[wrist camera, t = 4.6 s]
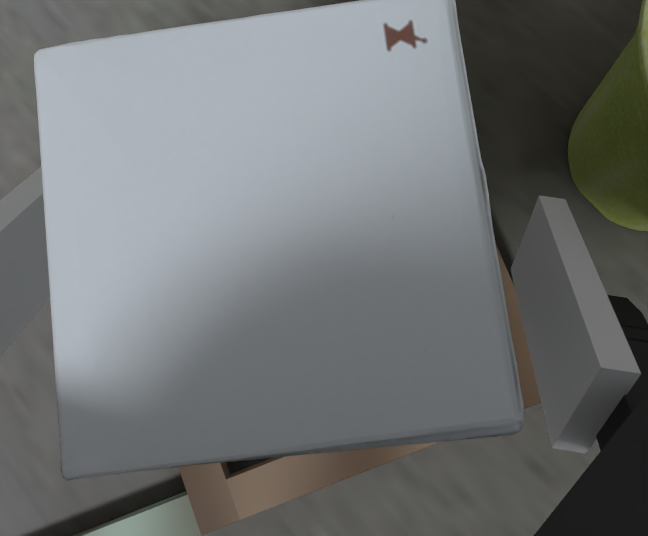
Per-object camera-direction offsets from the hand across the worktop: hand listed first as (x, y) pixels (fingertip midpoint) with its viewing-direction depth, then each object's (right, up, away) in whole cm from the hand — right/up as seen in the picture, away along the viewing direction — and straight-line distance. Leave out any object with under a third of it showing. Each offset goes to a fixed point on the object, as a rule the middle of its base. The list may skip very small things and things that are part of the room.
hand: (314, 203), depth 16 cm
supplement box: (0, -3, +5) cm, 5 cm away
